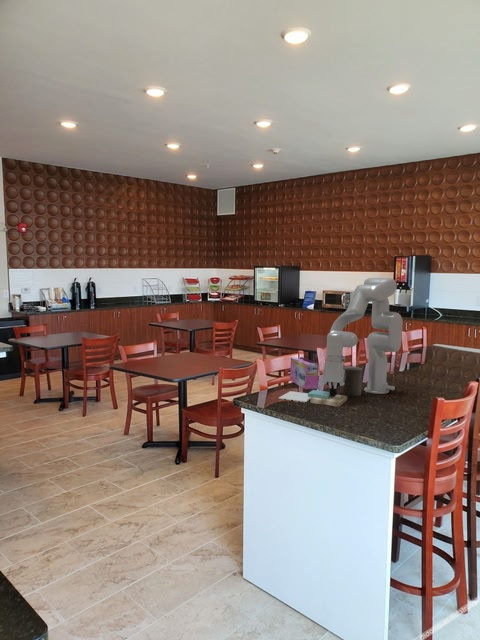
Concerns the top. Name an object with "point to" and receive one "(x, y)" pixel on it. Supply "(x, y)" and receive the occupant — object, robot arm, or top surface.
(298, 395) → the grey mat
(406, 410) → the top surface
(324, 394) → the teal card
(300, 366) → the pink purple printed box
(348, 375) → the dark brown cylinder
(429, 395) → the top surface
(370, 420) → the top surface
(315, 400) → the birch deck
